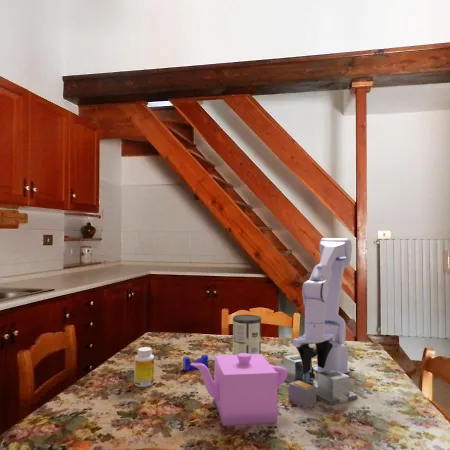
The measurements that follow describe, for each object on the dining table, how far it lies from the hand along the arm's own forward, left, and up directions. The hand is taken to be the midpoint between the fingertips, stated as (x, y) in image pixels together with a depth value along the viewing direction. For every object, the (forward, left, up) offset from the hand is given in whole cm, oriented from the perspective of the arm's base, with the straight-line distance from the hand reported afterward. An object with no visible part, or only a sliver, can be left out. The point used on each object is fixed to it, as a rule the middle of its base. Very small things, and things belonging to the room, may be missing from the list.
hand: (314, 368), depth 118 cm
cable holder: (+25, -30, -6) cm, 39 cm away
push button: (0, -2, -4) cm, 5 cm away
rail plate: (0, 0, -5) cm, 5 cm away
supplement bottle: (+44, -23, -6) cm, 50 cm away
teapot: (+28, +4, -6) cm, 28 cm away
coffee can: (+3, -33, -6) cm, 34 cm away
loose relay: (+10, +7, -5) cm, 13 cm away
